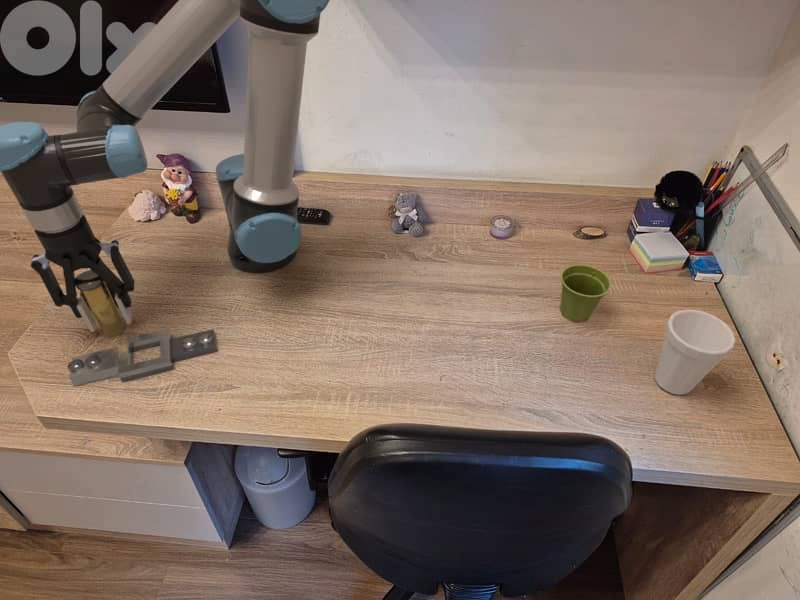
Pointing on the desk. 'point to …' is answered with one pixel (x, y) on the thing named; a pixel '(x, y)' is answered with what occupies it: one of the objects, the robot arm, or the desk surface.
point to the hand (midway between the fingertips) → (111, 322)
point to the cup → (691, 349)
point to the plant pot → (582, 291)
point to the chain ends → (122, 361)
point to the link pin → (100, 303)
